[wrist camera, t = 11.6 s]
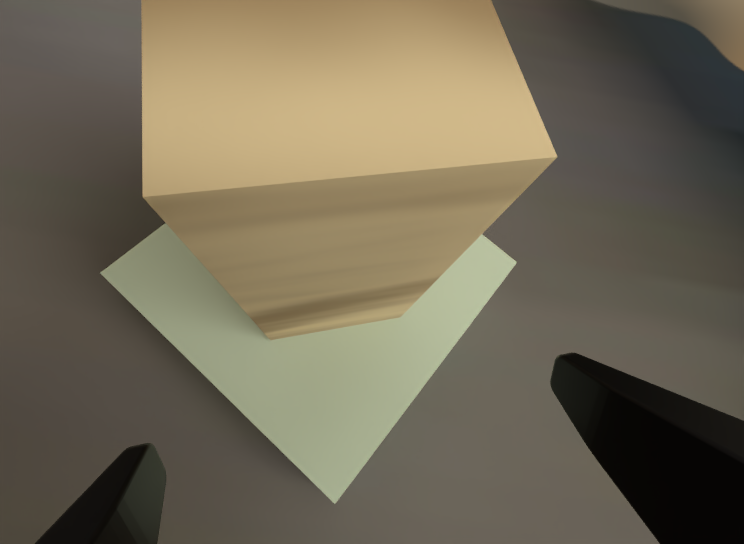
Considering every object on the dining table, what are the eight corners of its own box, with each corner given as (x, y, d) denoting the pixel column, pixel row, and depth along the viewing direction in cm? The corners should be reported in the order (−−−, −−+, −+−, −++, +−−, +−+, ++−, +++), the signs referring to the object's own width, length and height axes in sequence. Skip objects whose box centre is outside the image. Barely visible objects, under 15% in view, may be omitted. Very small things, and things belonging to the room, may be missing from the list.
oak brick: (400, 317, 17) (557, 156, 6) (270, 340, 16) (142, 196, 5) (374, 205, 19) (455, -84, 7) (256, 219, 18) (140, -99, 6)
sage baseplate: (333, 491, 16) (334, 504, 14) (123, 286, 18) (100, 272, 16) (499, 274, 21) (516, 262, 19) (320, 129, 22) (320, 104, 20)
